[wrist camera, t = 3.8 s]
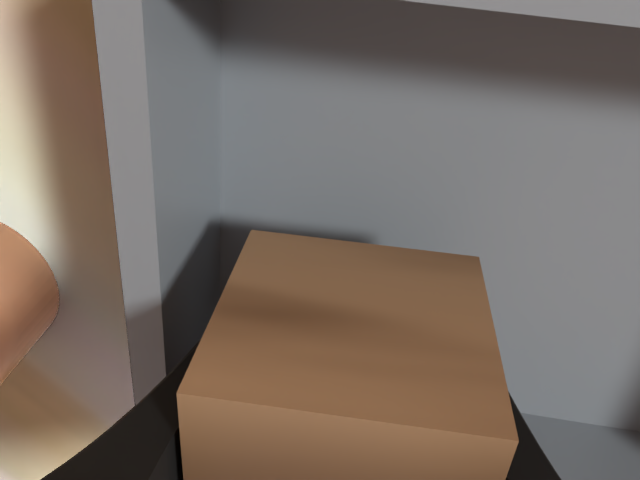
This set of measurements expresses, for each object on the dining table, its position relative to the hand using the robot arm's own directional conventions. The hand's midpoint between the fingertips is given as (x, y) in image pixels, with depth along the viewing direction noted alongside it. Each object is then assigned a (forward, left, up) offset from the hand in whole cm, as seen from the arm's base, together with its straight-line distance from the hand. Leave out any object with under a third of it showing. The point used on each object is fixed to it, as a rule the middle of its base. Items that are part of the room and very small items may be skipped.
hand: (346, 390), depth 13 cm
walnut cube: (0, 0, -2) cm, 2 cm away
